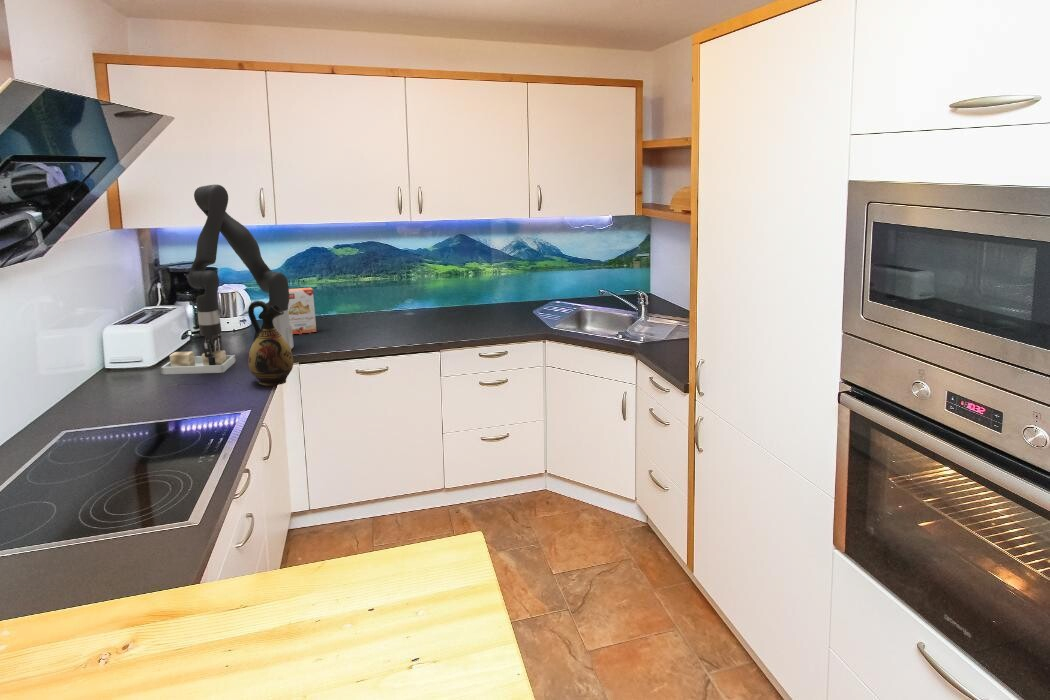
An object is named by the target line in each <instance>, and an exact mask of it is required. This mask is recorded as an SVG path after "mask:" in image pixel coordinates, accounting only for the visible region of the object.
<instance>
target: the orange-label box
mask: <svg viewBox="0 0 1050 700" xmlns="http://www.w3.org/2000/svg"><path fill="white" fill-rule="evenodd" d="M209 354H210V353H209ZM226 355H227V353H226V350H223V349H222V350H220V351H215V363H216V365H222V364H223V363H224V362H225V361H226ZM201 356H202V358H203V365H204V366H208V365H209V359H208V358H206V357H205V354H204V352H203V353H202V354H201Z"/></svg>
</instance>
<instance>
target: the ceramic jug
mask: <svg viewBox="0 0 1050 700" xmlns="http://www.w3.org/2000/svg"><path fill="white" fill-rule="evenodd" d="M266 303H267V302H265V301H261V300H255V301H252V302H251V303H250V304H249V306H248V308H247V309H248V310H247V312H248V316H249V320H250V322H251V324H252V326H253V329H254V334H253V340H252V341H253V343H252V344H251V347H250V349H249V353H248V361H247V362H248V369H249V372H250V373H251V375H252V376H254V377H255V378H256V379H257V380H258V384H259V385H262V386H266V387H267V386H268V387H277V386H279V385H284V384H286V383H287V379H288V377H289V375H290V373H291V372H292V370H293V367H294V356H293V353H292V349H291V350H290V347H289V346H288V344H287V342H286V341H285V339H284V338H283V337H282V335H281V334H280V333H279V332H278V331H277V330H276V328H275V327H274V325H273V319H274V318H276V317H278V316H280V315H283V314H284V312H283V311H282V310H281V308H280V307H279V306H277V305H274V306H271V307H270V308H268V306H267V304H266ZM258 307H260V308H261V309H262V311H261V312H260V313H259V314H258V319H259V320H262V324H261V328H260V325H259V323H258V321H257V318H256V314H255V308H258Z"/></svg>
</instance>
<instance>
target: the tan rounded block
mask: <svg viewBox="0 0 1050 700" xmlns="http://www.w3.org/2000/svg"><path fill="white" fill-rule="evenodd" d="M194 353H195V352H194V351H174V352H173V353H171V354H170V355H169V362H170V363H171V367H179V366H195V359H194V356H195V354H194Z"/></svg>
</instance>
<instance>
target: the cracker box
mask: <svg viewBox="0 0 1050 700" xmlns="http://www.w3.org/2000/svg"><path fill="white" fill-rule="evenodd" d="M314 299H315V298H314V289H313V288H312V287H300V288H289V304H288V311H289V321H290V326H292V336H294V335H293V334H299V335H303V334H302V333H309V334H312V333H311V332H317V323H316V310H315V309H316V308H315V300H314Z"/></svg>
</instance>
